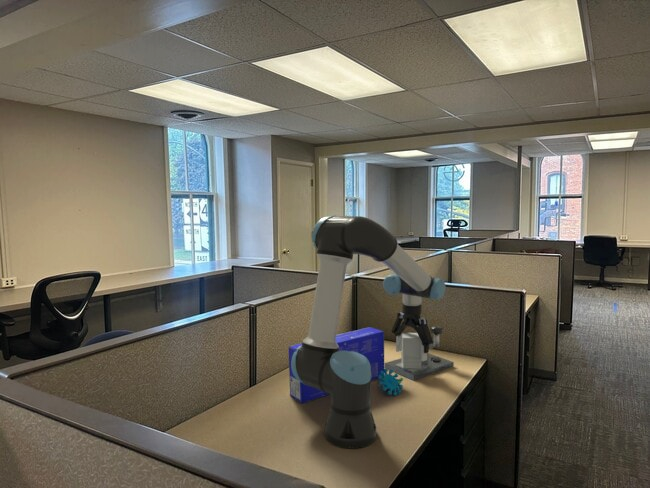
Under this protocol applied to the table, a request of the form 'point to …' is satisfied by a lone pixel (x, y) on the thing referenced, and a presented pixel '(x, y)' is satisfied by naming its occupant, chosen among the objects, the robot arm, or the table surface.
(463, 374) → the table surface
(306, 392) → the toner cartridge box
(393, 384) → the gear
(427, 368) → the plate
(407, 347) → the supplement box
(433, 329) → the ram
